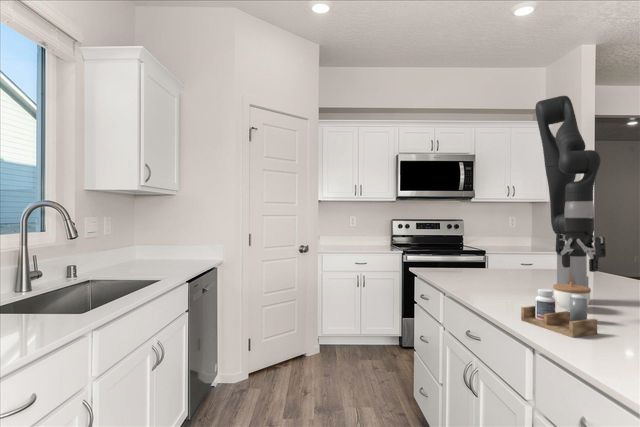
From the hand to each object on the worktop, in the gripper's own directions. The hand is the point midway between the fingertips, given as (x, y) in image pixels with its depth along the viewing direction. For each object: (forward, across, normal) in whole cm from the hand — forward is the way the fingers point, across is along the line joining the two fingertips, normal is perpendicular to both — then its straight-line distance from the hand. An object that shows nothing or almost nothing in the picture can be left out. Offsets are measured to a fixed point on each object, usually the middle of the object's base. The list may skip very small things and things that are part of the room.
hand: (579, 269), depth 117 cm
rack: (+16, +2, -11) cm, 20 cm away
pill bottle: (+15, -2, -11) cm, 19 cm away
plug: (+16, 0, 0) cm, 16 cm away
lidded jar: (+16, -11, +11) cm, 22 cm away
